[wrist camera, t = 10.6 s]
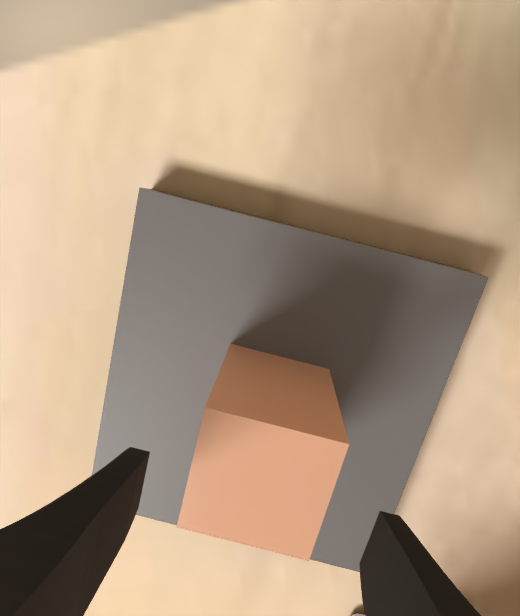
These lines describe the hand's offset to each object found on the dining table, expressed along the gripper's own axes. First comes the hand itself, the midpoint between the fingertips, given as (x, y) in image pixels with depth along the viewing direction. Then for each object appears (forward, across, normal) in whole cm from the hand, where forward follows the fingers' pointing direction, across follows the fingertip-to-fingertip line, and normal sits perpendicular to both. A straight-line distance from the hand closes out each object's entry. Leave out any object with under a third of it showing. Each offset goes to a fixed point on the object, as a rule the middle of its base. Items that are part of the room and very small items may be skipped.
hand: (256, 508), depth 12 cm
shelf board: (+8, 0, 0) cm, 8 cm away
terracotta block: (+7, 0, 0) cm, 7 cm away
